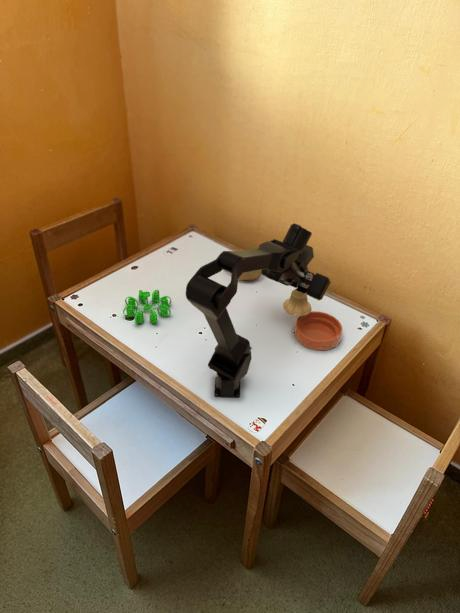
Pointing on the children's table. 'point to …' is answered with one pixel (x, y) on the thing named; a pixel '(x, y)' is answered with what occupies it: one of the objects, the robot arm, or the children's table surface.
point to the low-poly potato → (250, 275)
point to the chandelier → (147, 306)
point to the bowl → (318, 331)
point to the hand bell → (297, 304)
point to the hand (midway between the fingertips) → (302, 284)
